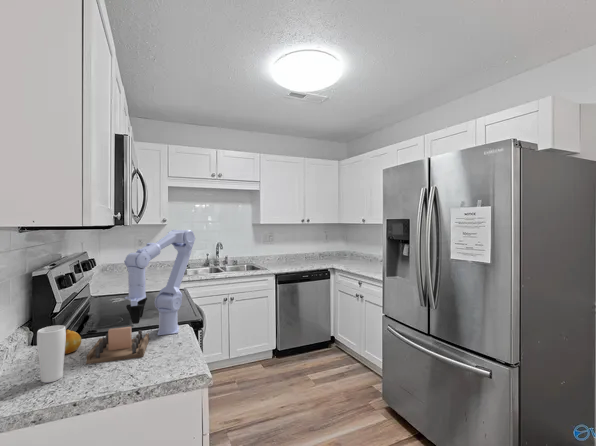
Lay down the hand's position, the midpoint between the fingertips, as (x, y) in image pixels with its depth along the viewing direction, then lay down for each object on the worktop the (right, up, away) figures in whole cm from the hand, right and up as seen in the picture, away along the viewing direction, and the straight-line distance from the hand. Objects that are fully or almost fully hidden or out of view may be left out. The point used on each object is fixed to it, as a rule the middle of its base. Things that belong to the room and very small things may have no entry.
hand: (137, 320), depth 120 cm
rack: (-3, -10, -5) cm, 11 cm away
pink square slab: (-4, -8, -5) cm, 10 cm away
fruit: (-22, -10, -5) cm, 25 cm away
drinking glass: (-13, -10, -25) cm, 30 cm away
